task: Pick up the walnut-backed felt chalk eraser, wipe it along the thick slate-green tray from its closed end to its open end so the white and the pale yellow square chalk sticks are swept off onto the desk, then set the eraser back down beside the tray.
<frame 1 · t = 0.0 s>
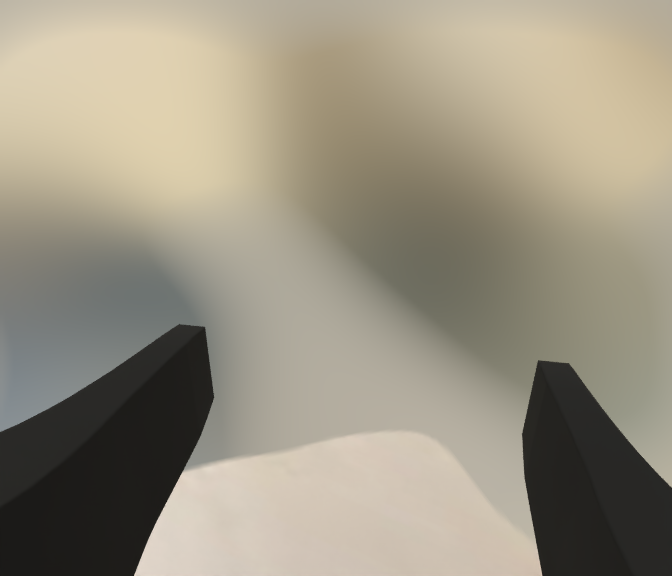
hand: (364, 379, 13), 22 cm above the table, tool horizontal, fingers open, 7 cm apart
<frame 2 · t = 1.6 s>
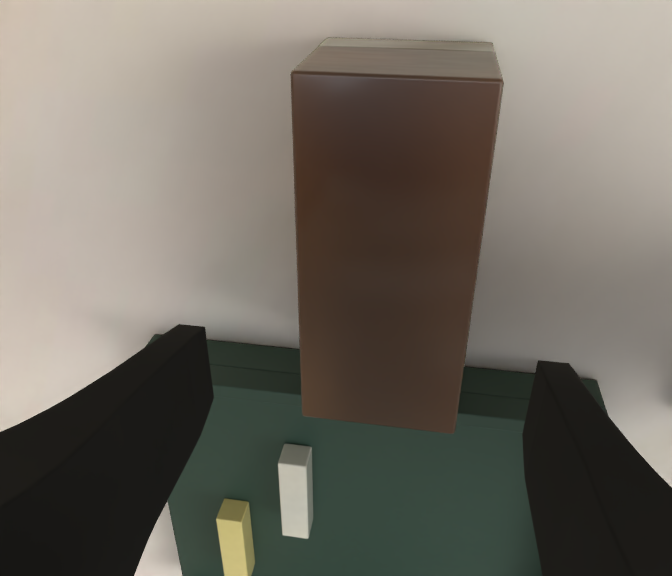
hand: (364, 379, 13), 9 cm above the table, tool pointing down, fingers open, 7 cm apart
tray: (359, 491, 29), on the table
white chalk: (299, 481, 27), point 2 cm above the table, touching tray
yellow chalk: (240, 531, 29), point 2 cm above the table, touching tray
eraser: (398, 208, 21), on the table
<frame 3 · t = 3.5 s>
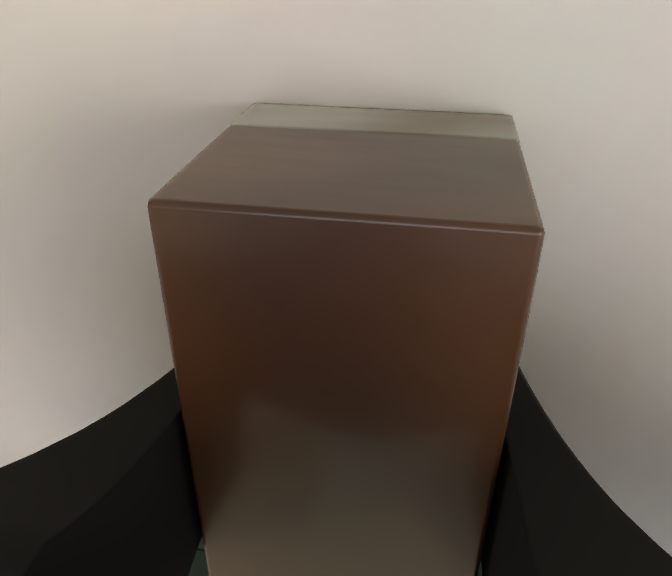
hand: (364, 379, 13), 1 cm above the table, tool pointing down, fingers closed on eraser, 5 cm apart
eraser: (369, 342, 15), on the table, touching gripper
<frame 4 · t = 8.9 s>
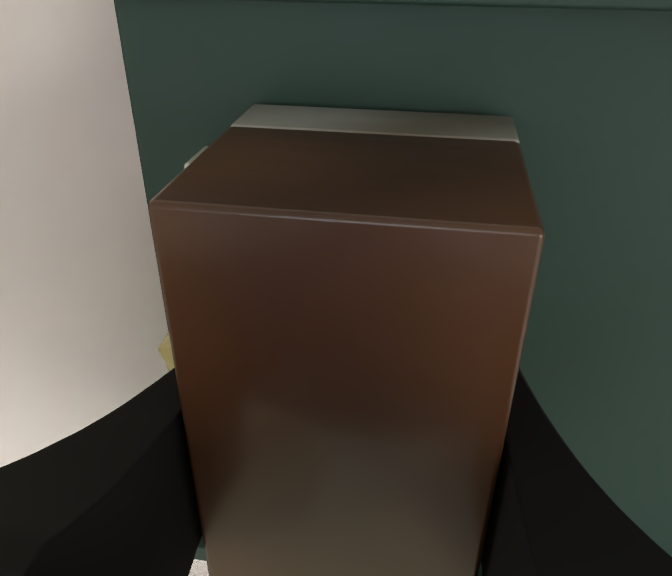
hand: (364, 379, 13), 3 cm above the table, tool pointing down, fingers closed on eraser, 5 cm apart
tray: (526, 314, 16), on the table
yellow chalk: (229, 386, 16), point 2 cm above the table, touching tray
eraser: (370, 342, 15), point 2 cm above the table, touching gripper, white chalk
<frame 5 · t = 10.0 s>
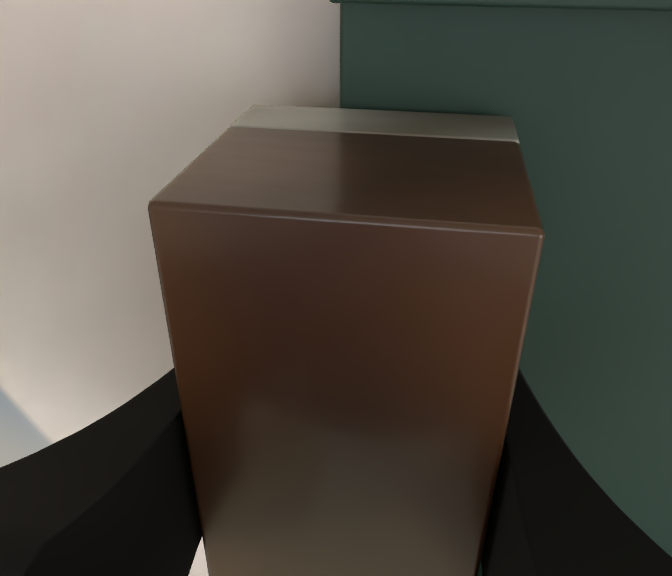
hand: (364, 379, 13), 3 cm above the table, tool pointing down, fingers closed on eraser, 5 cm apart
eraser: (369, 342, 15), point 2 cm above the table, touching gripper
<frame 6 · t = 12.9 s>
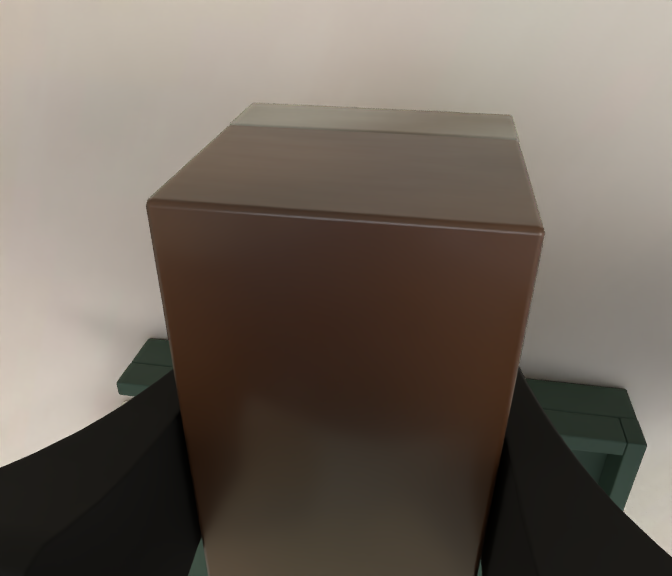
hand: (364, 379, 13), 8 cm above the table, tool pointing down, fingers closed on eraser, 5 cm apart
tray: (367, 505, 27), on the table
eraser: (369, 342, 15), point 7 cm above the table, touching gripper
when the fingers open (1 cm above the table, at t = 15.0 s): eraser stays where it is, on the table.
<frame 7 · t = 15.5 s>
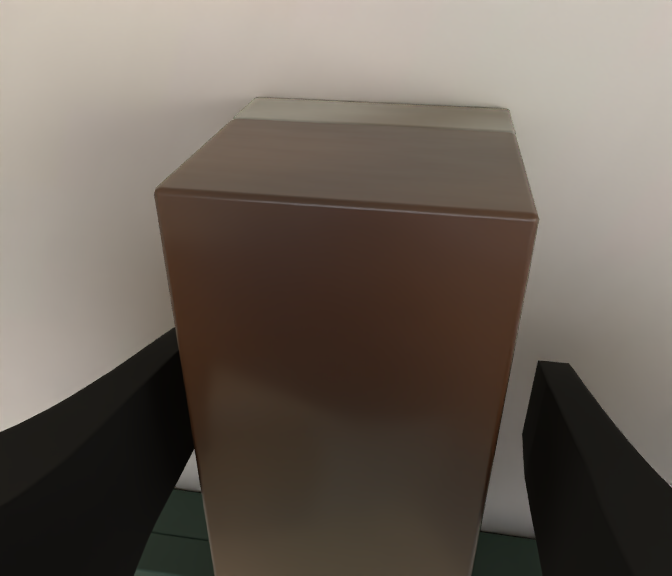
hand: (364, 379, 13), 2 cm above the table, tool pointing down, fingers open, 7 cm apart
eraser: (369, 333, 15), on the table
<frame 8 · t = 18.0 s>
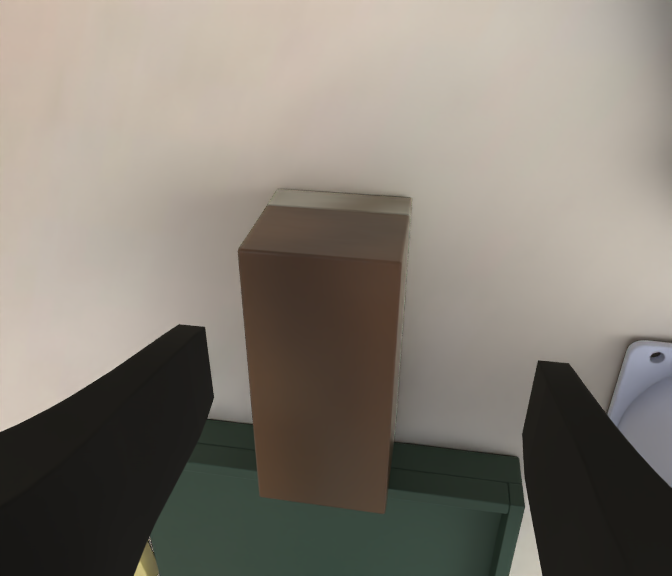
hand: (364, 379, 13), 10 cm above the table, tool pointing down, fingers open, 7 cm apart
tray: (322, 542, 33), on the table
yellow chalk: (145, 553, 35), point 1 cm above the table, tilted 90°
eraser: (342, 318, 25), on the table
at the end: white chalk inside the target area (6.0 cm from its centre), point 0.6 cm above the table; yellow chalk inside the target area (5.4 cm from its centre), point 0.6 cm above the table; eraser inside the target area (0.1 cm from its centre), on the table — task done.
